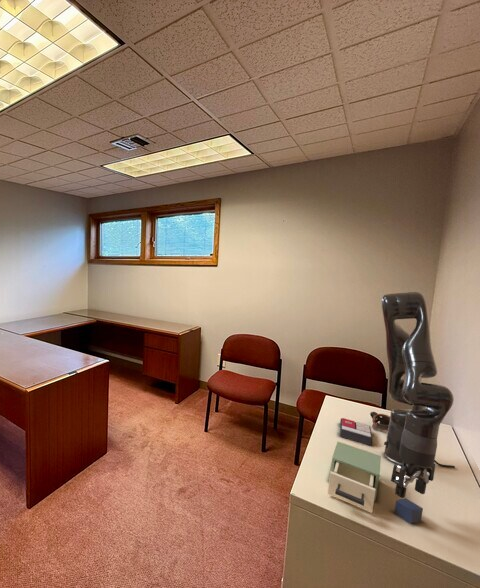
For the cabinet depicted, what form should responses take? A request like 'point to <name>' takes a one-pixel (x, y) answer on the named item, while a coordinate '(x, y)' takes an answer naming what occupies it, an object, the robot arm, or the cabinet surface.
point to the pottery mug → (382, 419)
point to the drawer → (352, 486)
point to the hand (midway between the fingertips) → (409, 494)
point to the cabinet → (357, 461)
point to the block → (408, 510)
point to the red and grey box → (355, 431)
